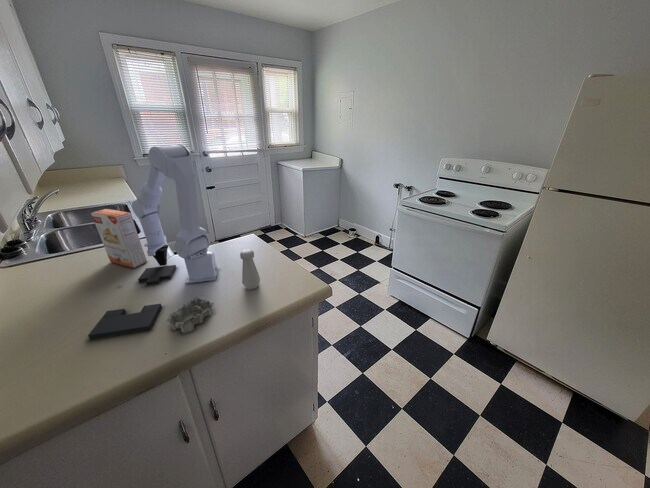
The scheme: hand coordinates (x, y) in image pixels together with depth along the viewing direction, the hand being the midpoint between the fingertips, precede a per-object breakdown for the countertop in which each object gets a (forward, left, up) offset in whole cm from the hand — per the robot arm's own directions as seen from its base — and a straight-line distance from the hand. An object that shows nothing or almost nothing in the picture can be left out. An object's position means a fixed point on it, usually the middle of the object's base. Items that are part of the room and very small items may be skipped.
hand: (163, 264), depth 103 cm
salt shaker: (-33, +22, -1) cm, 40 cm away
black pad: (0, +8, -1) cm, 8 cm away
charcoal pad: (0, +32, -1) cm, 32 cm away
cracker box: (+15, -8, -1) cm, 17 cm away
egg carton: (-17, +35, -1) cm, 39 cm away
